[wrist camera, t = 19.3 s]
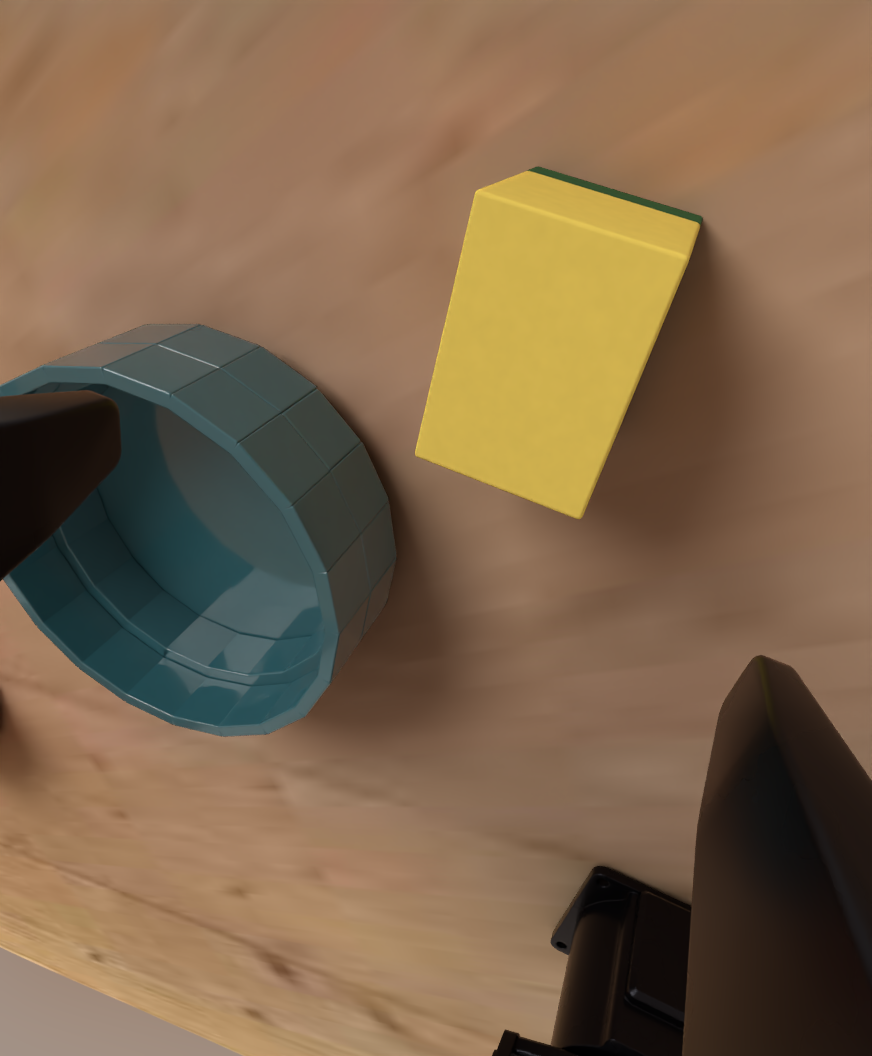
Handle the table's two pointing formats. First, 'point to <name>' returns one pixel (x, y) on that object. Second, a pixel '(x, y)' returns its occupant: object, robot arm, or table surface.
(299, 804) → the table surface
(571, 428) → the sponge
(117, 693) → the bowl
